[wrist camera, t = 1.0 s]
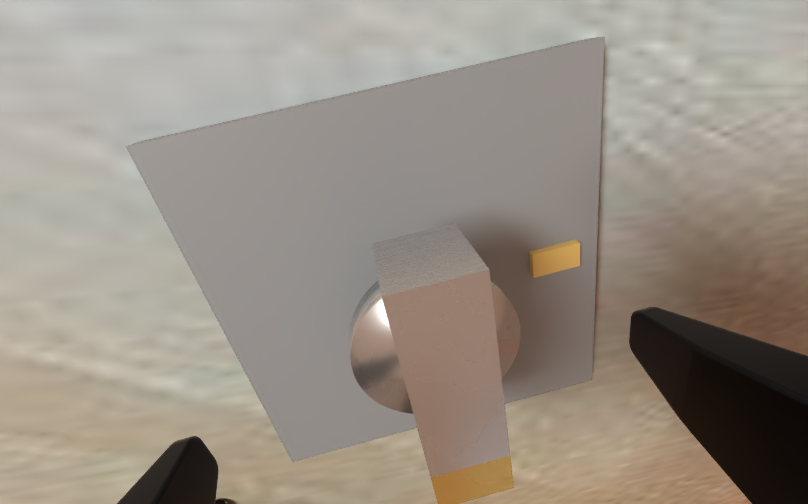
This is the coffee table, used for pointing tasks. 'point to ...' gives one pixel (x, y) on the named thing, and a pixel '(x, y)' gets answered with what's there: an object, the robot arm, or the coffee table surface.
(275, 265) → the base plate
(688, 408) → the robot arm
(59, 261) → the coffee table surface
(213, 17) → the coffee table surface
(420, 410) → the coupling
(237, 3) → the coffee table surface
